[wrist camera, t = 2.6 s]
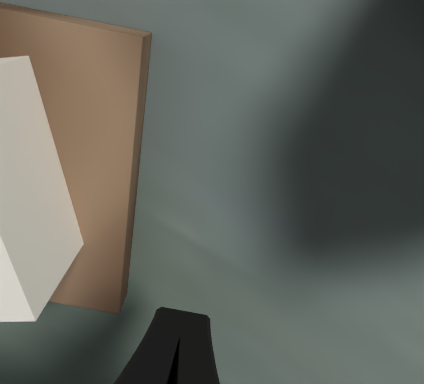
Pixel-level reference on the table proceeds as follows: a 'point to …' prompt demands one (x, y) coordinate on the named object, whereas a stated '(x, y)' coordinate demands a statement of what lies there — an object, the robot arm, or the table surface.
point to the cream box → (30, 199)
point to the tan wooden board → (89, 136)
